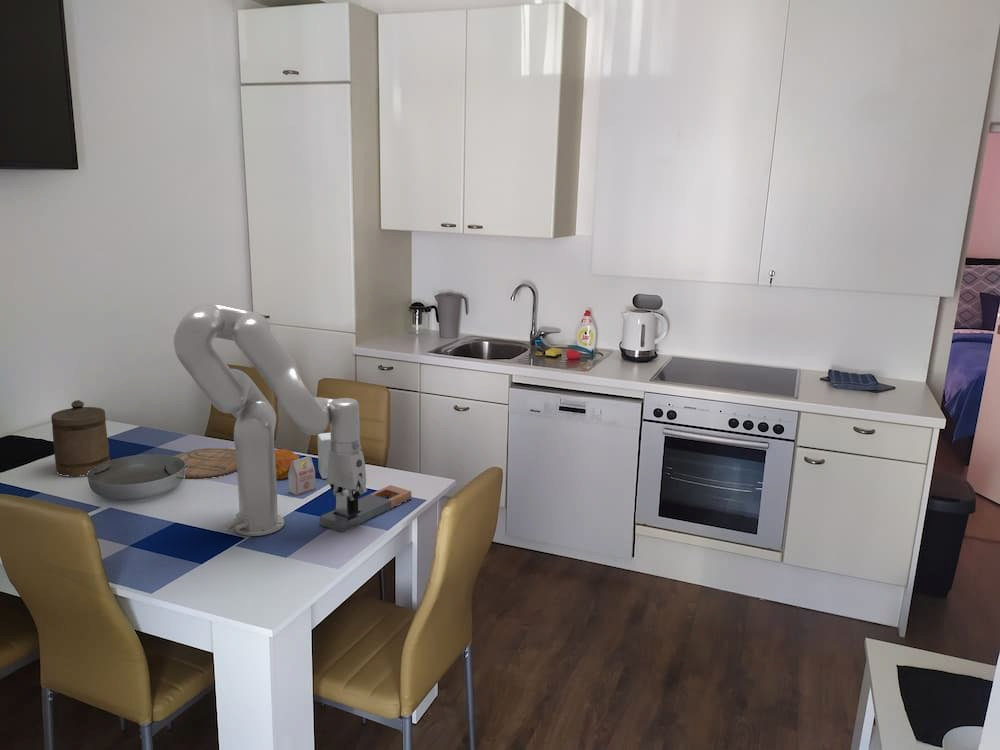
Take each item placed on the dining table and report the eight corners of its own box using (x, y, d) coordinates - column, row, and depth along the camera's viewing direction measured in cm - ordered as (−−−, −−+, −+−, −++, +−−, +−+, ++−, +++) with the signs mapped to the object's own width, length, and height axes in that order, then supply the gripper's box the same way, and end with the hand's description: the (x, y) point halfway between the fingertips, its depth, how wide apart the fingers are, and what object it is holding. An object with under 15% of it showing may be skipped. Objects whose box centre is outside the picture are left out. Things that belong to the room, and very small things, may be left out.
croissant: (247, 478, 242) (242, 455, 239) (290, 461, 252) (286, 438, 249) (270, 490, 232) (265, 466, 229) (314, 471, 242) (310, 448, 239)
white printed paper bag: (288, 492, 226) (287, 460, 223) (307, 486, 231) (306, 454, 229) (296, 495, 224) (295, 462, 221) (315, 489, 229) (314, 457, 226)
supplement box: (346, 476, 239) (345, 437, 236) (321, 479, 236) (320, 440, 233) (341, 468, 246) (340, 431, 243) (318, 471, 243) (316, 433, 240)
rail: (342, 532, 200) (341, 523, 199) (320, 525, 204) (319, 516, 204) (411, 499, 223) (411, 491, 222) (390, 493, 227) (390, 485, 226)
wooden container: (104, 458, 250) (98, 392, 245) (115, 471, 239) (108, 403, 234) (52, 466, 241) (45, 399, 236) (61, 481, 230) (53, 410, 225)
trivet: (225, 483, 232) (224, 477, 232) (148, 476, 236) (148, 470, 236) (262, 456, 256) (262, 450, 256) (192, 450, 260) (192, 445, 260)
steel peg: (347, 525, 204) (346, 496, 202) (336, 521, 206) (335, 493, 205) (357, 520, 207) (357, 492, 206) (346, 517, 210) (346, 489, 208)
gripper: (379, 448, 201) (379, 513, 205) (332, 436, 210) (334, 499, 214) (358, 455, 195) (360, 523, 199) (312, 442, 203) (314, 507, 208)
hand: (346, 509), depth 206 cm, fingers closed on steel peg, 4 cm apart
